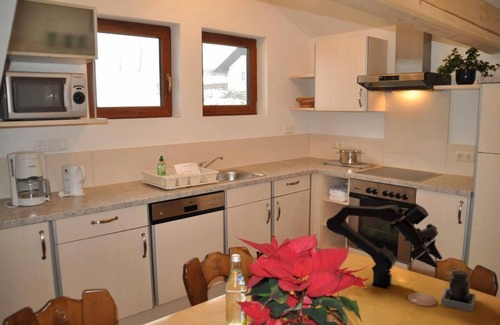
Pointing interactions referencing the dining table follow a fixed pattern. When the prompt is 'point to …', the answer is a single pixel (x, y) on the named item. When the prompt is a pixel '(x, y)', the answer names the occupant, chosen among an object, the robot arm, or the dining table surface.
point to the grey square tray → (458, 304)
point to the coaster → (422, 299)
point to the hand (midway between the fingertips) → (439, 263)
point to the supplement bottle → (459, 287)
